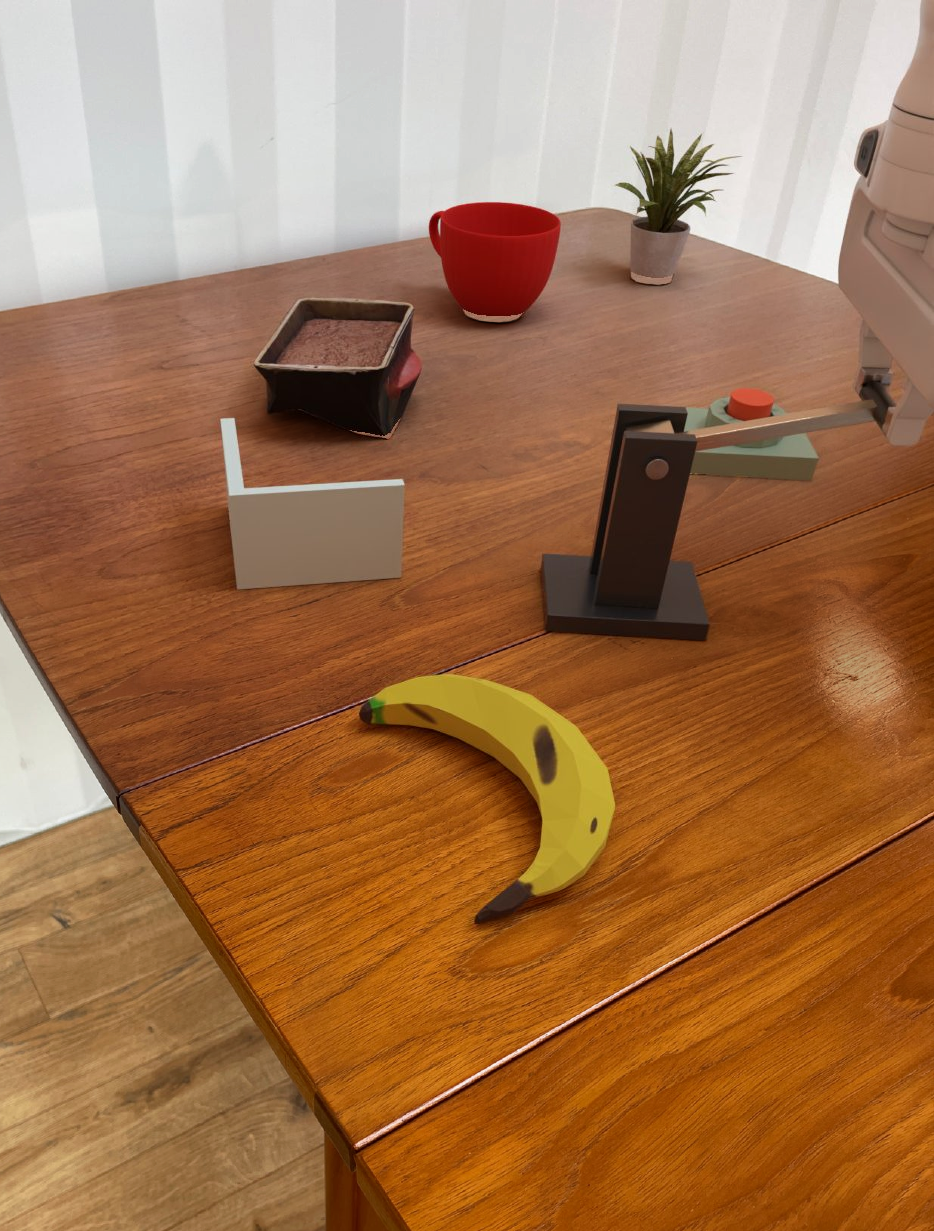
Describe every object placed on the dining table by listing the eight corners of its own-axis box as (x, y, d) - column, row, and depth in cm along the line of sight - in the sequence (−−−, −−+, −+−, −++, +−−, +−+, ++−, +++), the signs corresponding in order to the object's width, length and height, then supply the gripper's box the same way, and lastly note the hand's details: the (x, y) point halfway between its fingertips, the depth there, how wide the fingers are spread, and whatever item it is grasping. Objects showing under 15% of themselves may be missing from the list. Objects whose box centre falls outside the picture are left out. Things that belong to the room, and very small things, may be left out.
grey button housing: (788, 435, 97) (800, 393, 94) (811, 481, 90) (825, 438, 87) (668, 429, 97) (677, 387, 95) (682, 474, 90) (692, 431, 88)
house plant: (683, 310, 121) (716, 153, 110) (574, 286, 126) (596, 133, 116) (725, 278, 130) (759, 130, 119) (622, 256, 136) (646, 113, 125)
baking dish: (239, 448, 96) (233, 349, 89) (301, 348, 107) (301, 253, 100) (390, 481, 95) (397, 383, 87) (437, 376, 106) (447, 281, 98)
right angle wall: (401, 577, 77) (404, 484, 72) (237, 589, 75) (229, 495, 70) (375, 498, 86) (376, 410, 81) (228, 507, 84) (220, 418, 79)
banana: (407, 626, 65) (254, 788, 57) (669, 722, 57) (533, 925, 49) (415, 679, 68) (271, 839, 60) (663, 777, 60) (535, 975, 52)
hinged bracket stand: (688, 577, 78) (732, 399, 69) (705, 641, 72) (757, 455, 63) (540, 569, 78) (565, 391, 69) (545, 631, 72) (573, 445, 63)
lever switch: (882, 407, 67) (885, 371, 66) (906, 442, 63) (909, 405, 62) (626, 451, 70) (623, 417, 69) (634, 487, 66) (632, 452, 65)
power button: (764, 408, 92) (769, 389, 91) (772, 426, 90) (778, 406, 89) (722, 406, 93) (727, 387, 91) (730, 423, 90) (735, 404, 89)
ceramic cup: (466, 277, 128) (472, 187, 121) (573, 316, 119) (586, 221, 112) (388, 300, 121) (390, 206, 115) (495, 343, 112) (504, 244, 105)
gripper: (1112, 231, 48) (996, 501, 57) (958, 129, 63) (886, 355, 72) (971, 228, 48) (878, 497, 57) (851, 127, 64) (793, 352, 73)
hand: (882, 417), depth 65 cm, fingers closed on lever switch, 5 cm apart
